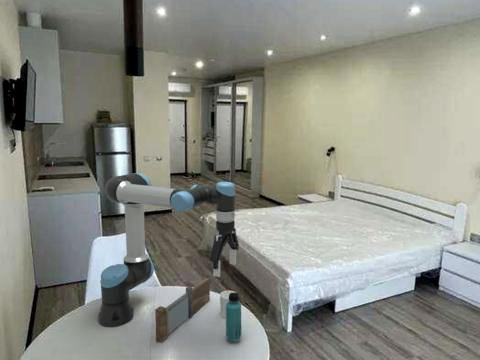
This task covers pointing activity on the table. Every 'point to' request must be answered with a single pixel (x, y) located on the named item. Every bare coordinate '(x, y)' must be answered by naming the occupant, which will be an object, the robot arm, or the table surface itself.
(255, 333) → the table surface
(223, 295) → the white cup
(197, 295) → the gate frame
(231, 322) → the beverage bottle
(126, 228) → the robot arm
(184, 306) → the gate panel
